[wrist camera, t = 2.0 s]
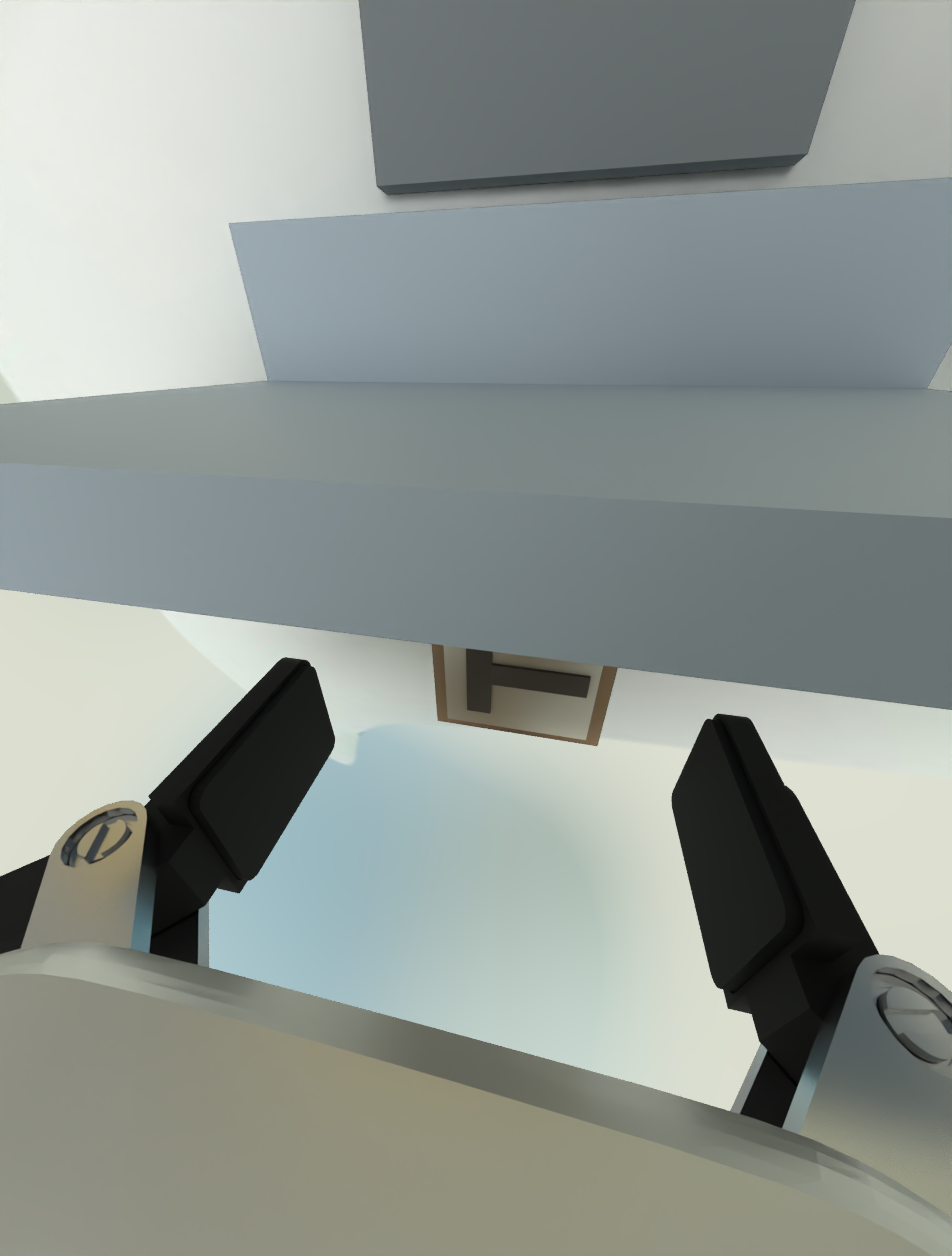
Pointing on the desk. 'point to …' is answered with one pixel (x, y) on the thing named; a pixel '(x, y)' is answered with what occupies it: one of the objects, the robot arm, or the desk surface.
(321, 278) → the screen
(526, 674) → the letter cube
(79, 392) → the desk surface
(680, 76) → the mat
